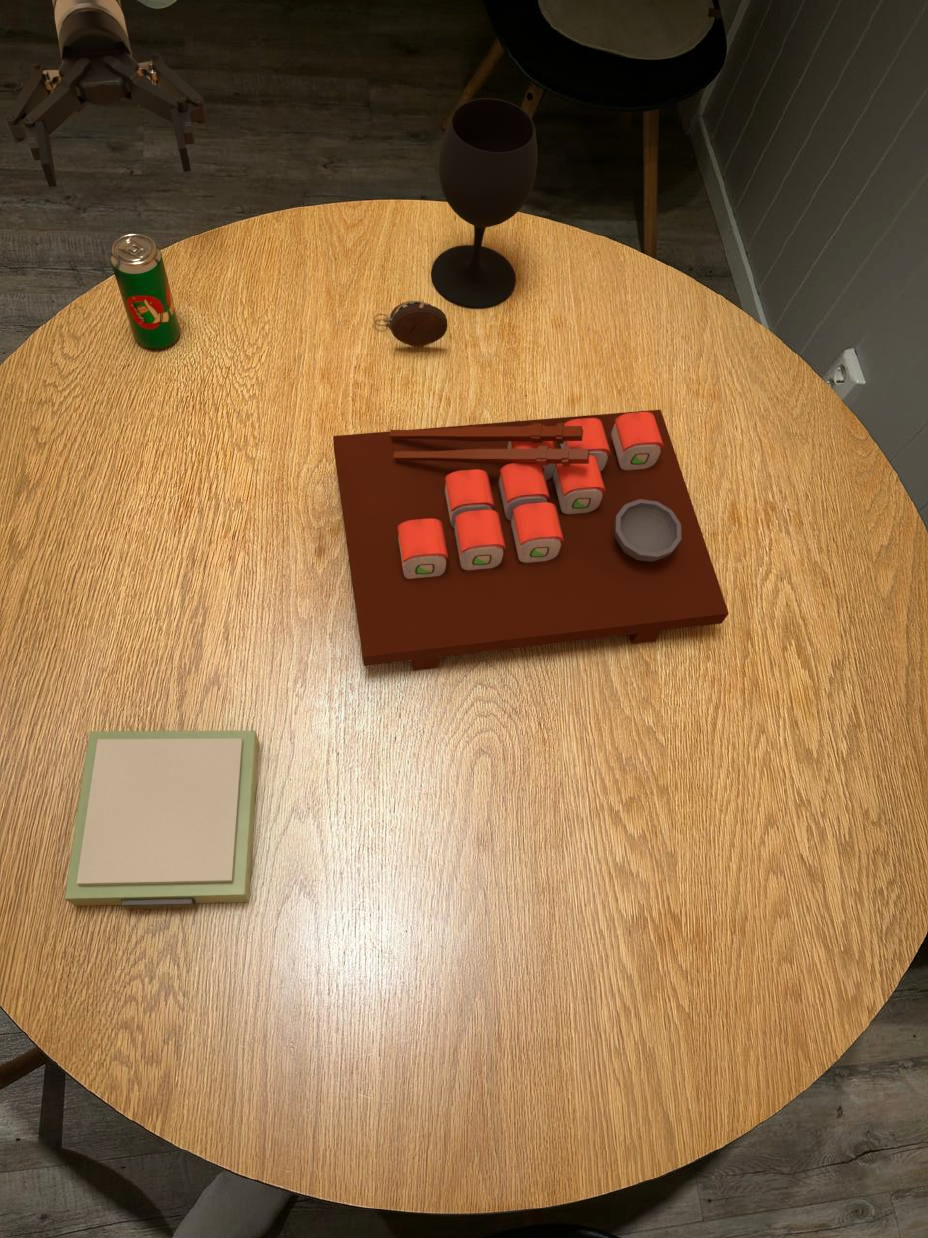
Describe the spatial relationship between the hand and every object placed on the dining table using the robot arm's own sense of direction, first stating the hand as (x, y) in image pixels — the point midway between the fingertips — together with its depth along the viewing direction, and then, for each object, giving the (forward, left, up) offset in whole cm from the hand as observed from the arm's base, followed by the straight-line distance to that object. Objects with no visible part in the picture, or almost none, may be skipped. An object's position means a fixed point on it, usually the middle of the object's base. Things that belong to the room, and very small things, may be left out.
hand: (118, 167), depth 96 cm
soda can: (+2, -9, -14) cm, 17 cm away
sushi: (+41, -36, -14) cm, 57 cm away
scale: (+9, -64, -14) cm, 67 cm away
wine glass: (+38, +2, -14) cm, 41 cm away
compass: (+30, -7, -14) cm, 34 cm away
